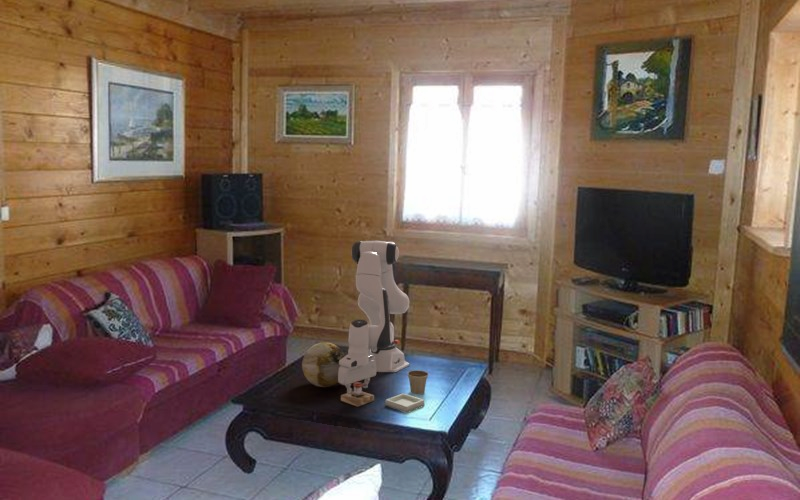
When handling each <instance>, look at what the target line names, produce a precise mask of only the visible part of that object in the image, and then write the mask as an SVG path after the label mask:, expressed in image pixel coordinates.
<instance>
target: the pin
mask: <svg viewBox="0 0 800 500" xmlns="http://www.w3.org/2000/svg"><path fill="white" fill-rule="evenodd" d="M363 384H364V382H360V381H357V382H354V383H352V386H353V391H354V397H357V398H359V397H362V392H363Z"/></svg>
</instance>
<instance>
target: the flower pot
mask: <svg viewBox="0 0 800 500" xmlns="http://www.w3.org/2000/svg"><path fill="white" fill-rule="evenodd" d="M407 377H408V379H409V387H410V393H411V394H414V395H423V394H424V393H425V391H426V385H427V379H428V377H429V372H427V371H425V370H419V369H417V370H410V371H408V372H407Z"/></svg>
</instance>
